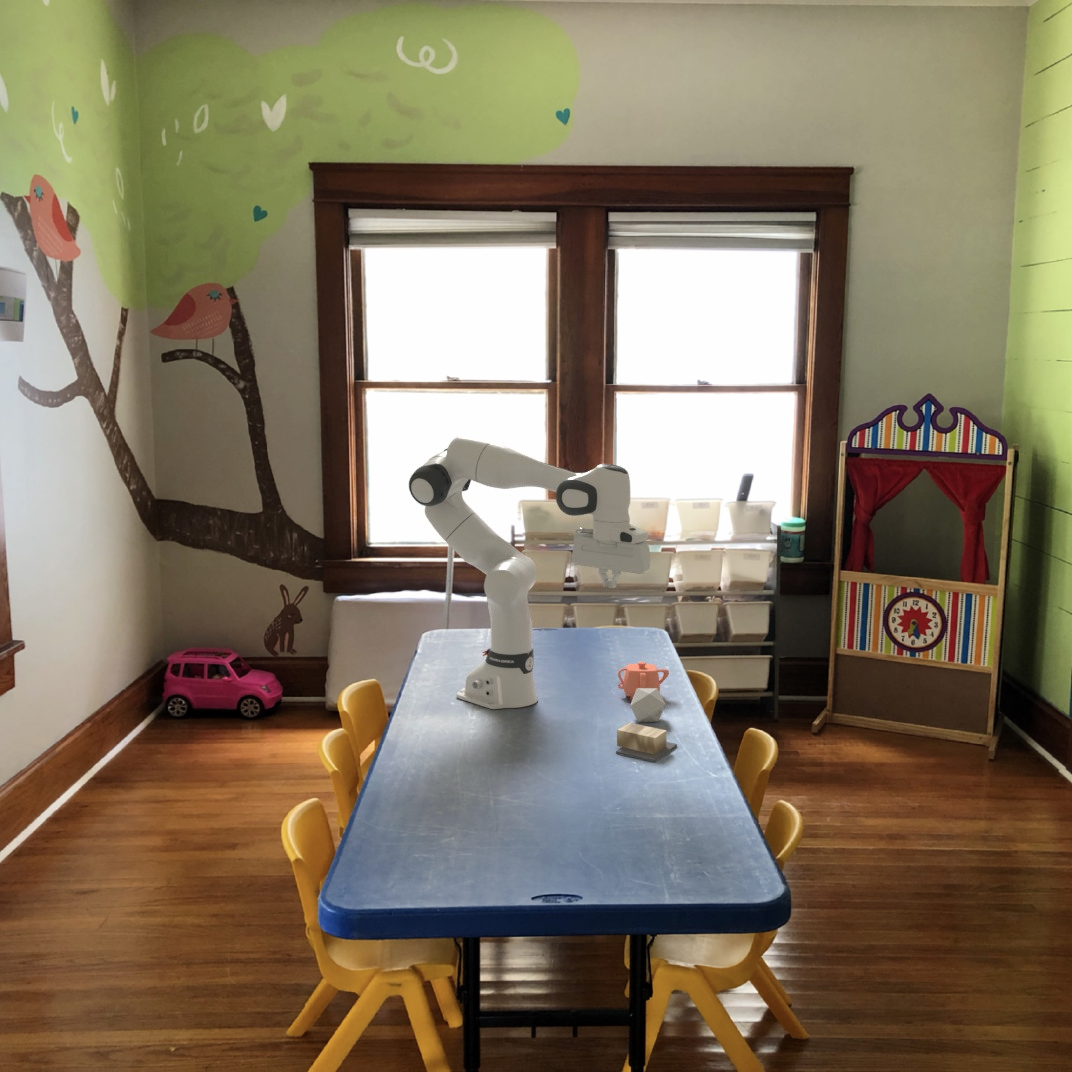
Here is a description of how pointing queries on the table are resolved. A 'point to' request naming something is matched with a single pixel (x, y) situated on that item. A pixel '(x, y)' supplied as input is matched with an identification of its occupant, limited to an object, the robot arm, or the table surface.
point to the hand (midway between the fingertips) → (609, 587)
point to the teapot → (640, 677)
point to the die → (647, 705)
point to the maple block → (641, 738)
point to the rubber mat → (647, 755)
